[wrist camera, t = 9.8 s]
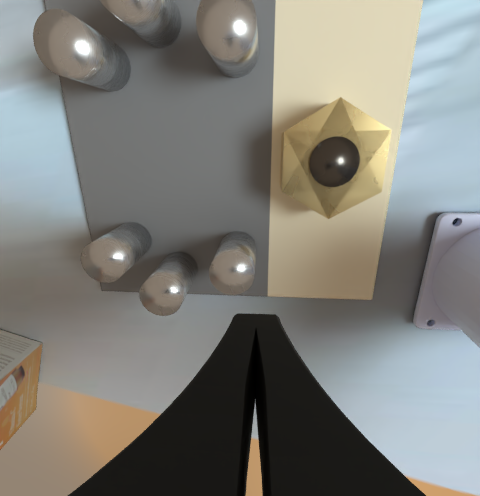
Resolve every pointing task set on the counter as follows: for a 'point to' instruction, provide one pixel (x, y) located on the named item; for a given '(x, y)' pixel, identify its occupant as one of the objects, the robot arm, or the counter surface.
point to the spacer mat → (240, 141)
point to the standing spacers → (115, 78)
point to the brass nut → (334, 158)
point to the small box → (17, 382)
